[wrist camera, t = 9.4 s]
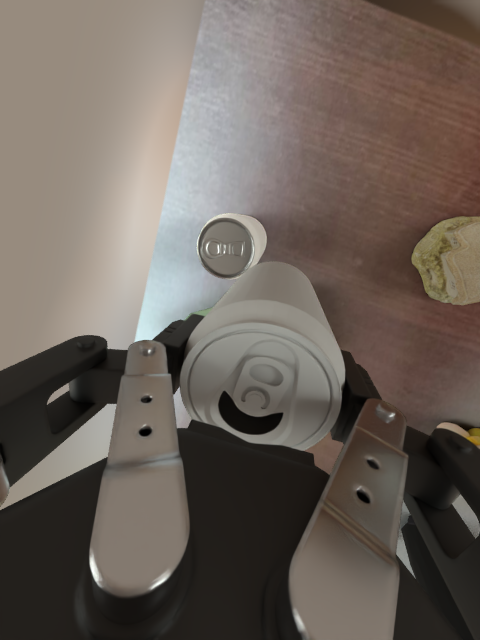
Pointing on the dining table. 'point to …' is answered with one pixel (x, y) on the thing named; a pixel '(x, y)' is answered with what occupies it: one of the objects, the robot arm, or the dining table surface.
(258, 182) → the dining table surface
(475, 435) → the decorative flower
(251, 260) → the can
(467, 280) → the ceramic model
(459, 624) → the portable speaker
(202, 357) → the beverage can
